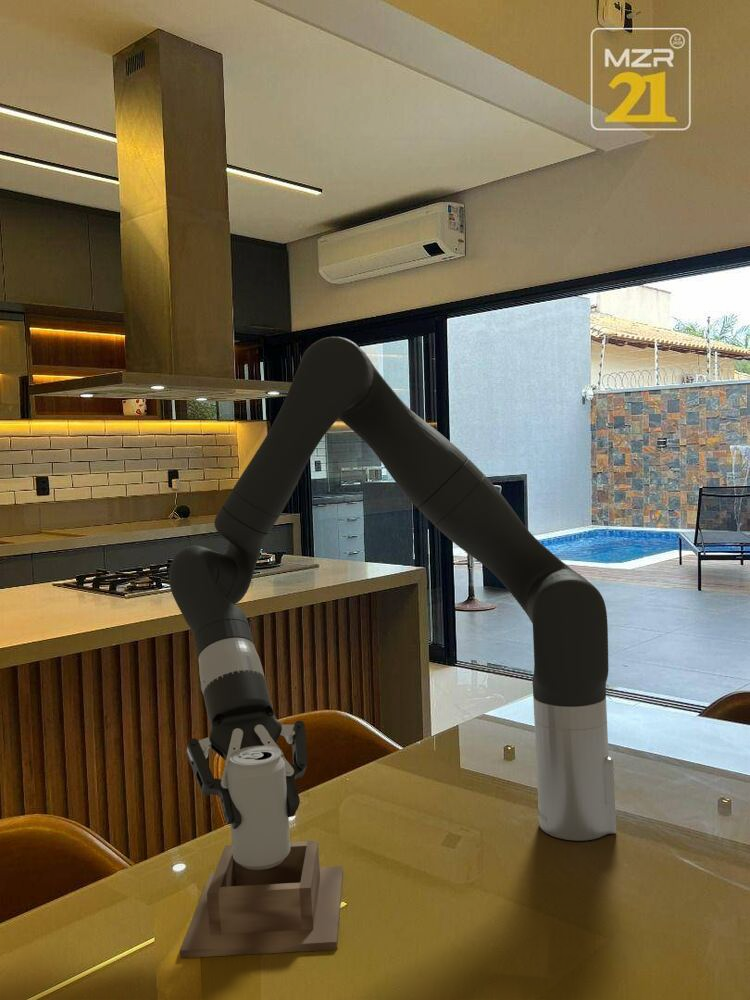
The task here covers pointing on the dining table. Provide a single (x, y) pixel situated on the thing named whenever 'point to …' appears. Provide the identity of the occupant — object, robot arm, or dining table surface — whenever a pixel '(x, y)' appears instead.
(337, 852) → the dining table surface
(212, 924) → the well
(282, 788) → the beverage can
